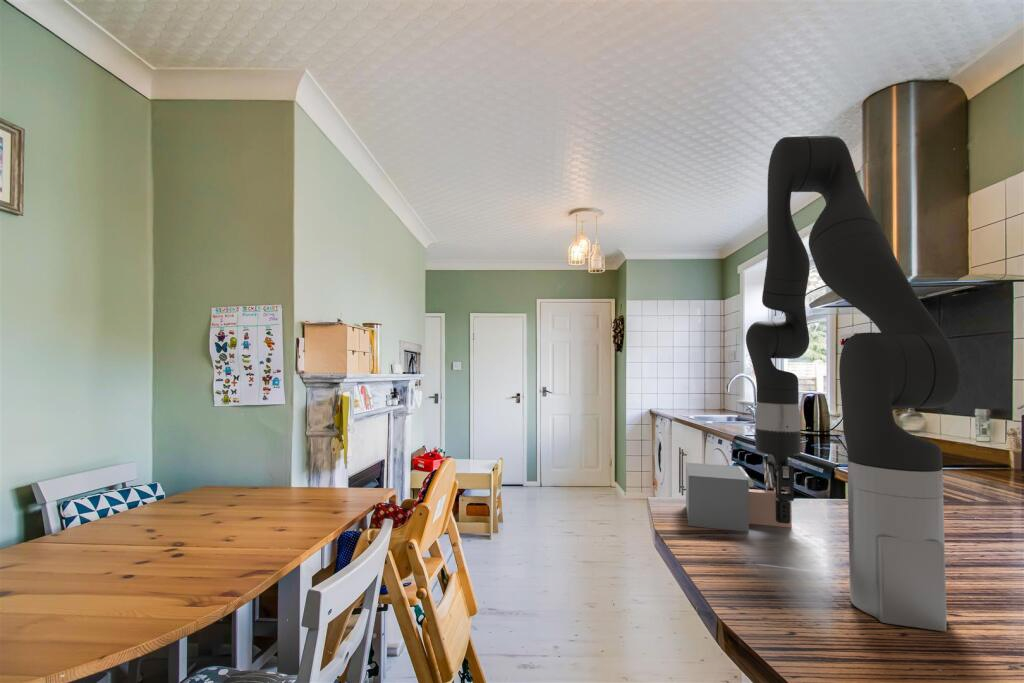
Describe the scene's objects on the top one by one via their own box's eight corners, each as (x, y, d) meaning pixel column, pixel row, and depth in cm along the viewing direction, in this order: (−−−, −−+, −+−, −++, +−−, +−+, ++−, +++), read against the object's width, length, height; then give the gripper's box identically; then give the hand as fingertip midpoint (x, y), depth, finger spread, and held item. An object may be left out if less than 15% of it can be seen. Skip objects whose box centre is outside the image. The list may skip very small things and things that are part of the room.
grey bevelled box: (754, 532, 89) (754, 480, 89) (688, 525, 92) (688, 475, 92) (743, 511, 102) (742, 466, 103) (685, 506, 105) (685, 462, 106)
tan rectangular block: (791, 528, 92) (791, 495, 93) (698, 519, 97) (698, 487, 97) (788, 524, 95) (788, 492, 95) (697, 516, 99) (697, 484, 100)
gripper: (810, 432, 87) (811, 530, 86) (791, 424, 101) (791, 509, 100) (762, 430, 89) (762, 525, 88) (749, 422, 103) (750, 505, 102)
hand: (778, 516), depth 94 cm, fingers open, 7 cm apart
